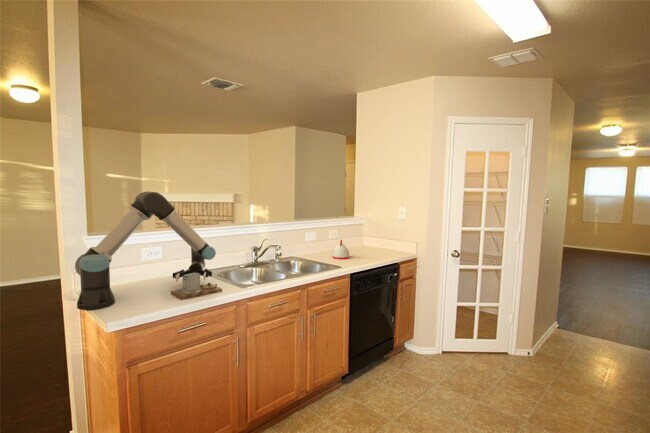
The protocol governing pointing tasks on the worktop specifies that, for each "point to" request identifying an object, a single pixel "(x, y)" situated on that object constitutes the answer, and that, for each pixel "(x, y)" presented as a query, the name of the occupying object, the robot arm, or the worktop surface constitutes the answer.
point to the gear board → (197, 291)
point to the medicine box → (191, 282)
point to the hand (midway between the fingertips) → (190, 278)
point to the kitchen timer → (341, 252)
